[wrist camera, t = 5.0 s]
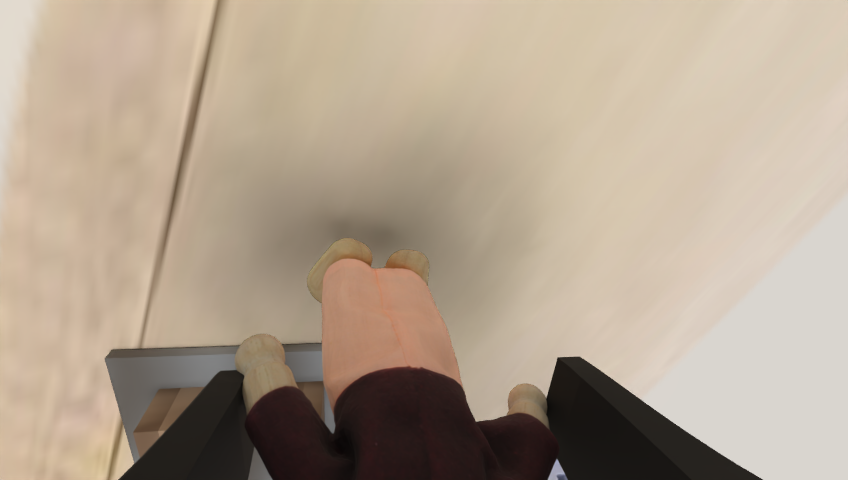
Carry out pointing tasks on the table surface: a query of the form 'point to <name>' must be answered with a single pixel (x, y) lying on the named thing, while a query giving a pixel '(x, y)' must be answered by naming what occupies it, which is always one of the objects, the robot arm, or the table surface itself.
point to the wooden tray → (195, 388)
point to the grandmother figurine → (385, 388)
